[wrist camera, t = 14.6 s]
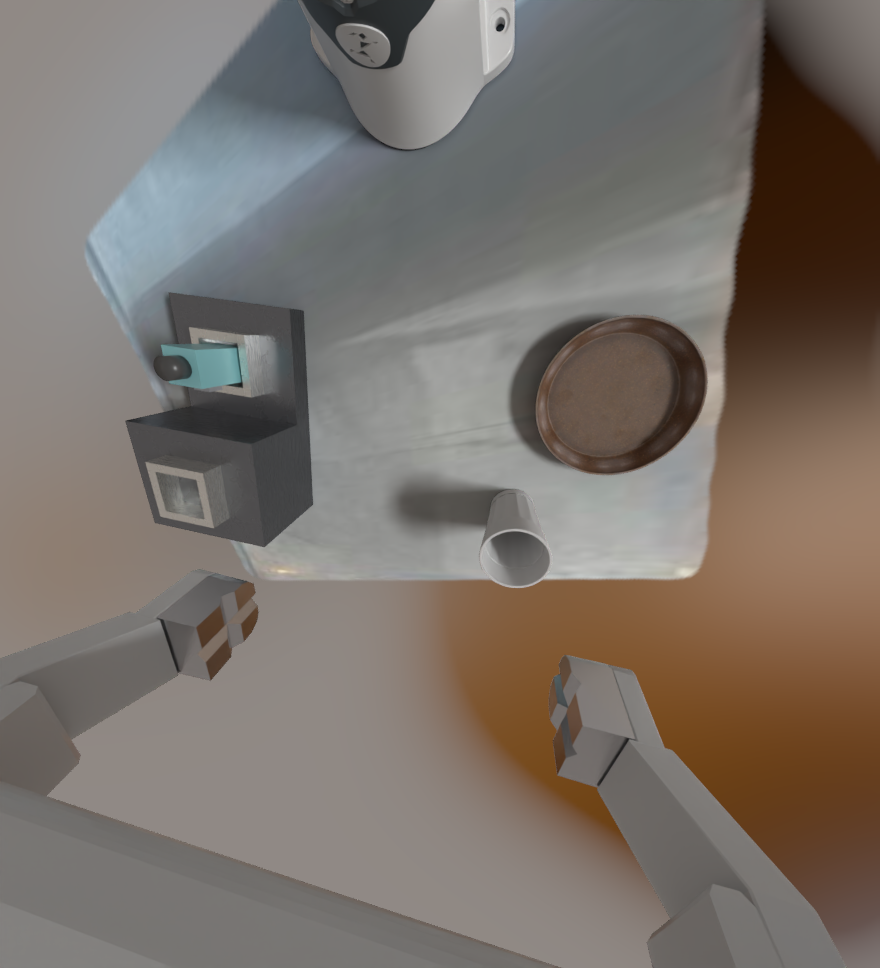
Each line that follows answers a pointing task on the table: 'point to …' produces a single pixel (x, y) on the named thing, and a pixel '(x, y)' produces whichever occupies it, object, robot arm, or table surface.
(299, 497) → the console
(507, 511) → the cup
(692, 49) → the table surface
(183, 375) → the plug
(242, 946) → the robot arm
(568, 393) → the plant saucer
